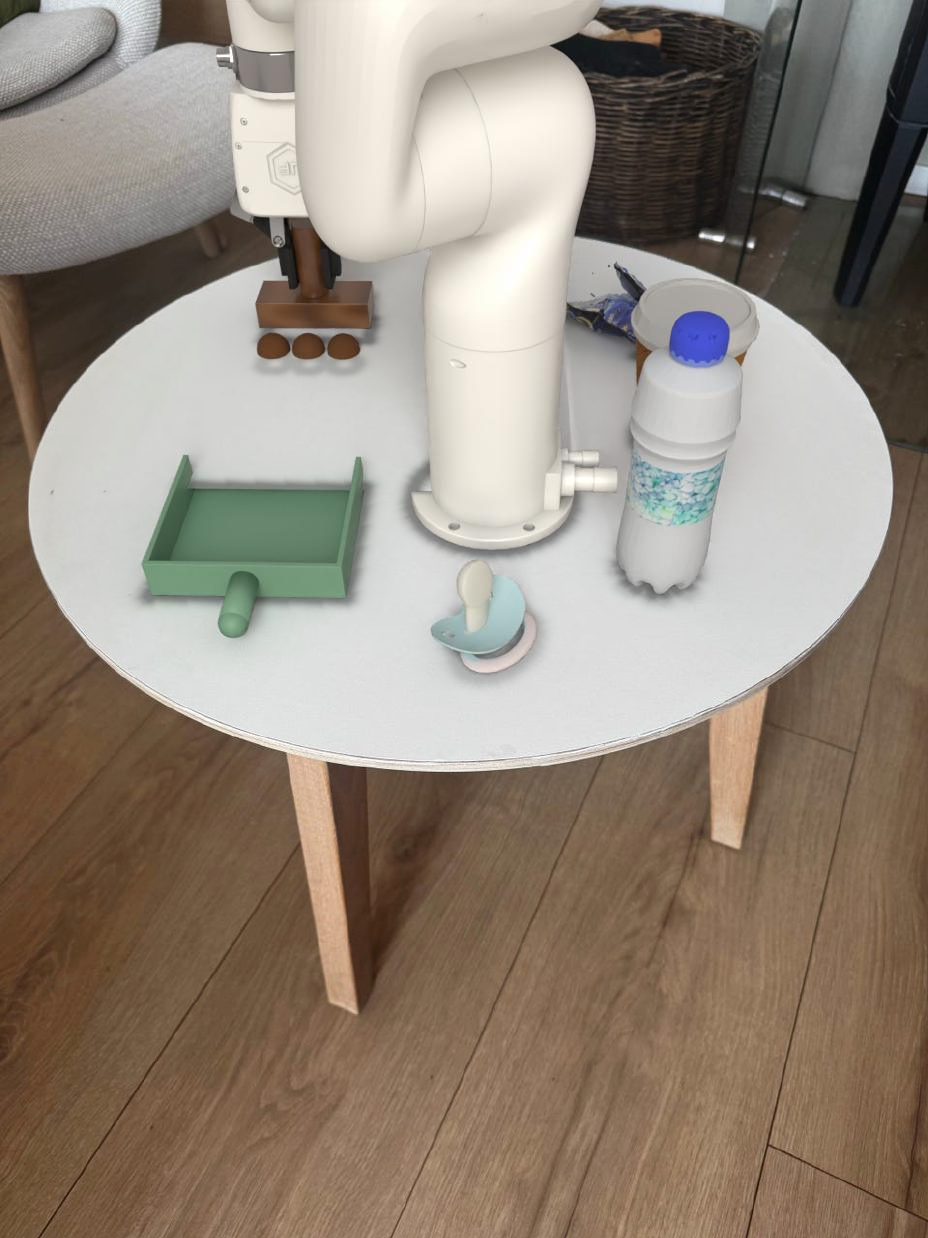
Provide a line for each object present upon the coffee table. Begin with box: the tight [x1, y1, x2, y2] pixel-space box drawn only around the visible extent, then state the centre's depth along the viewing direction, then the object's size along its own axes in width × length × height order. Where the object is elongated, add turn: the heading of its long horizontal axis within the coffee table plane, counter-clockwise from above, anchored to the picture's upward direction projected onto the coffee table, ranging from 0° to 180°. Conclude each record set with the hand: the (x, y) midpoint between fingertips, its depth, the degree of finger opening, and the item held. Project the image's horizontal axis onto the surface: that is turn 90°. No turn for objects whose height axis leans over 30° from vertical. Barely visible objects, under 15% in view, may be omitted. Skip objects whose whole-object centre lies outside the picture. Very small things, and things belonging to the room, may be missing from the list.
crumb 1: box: [256, 332, 291, 360], centre depth 90 cm, size 3×3×3 cm
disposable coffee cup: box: [631, 277, 761, 388], centre depth 78 cm, size 10×10×12 cm
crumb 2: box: [291, 332, 326, 360], centre depth 90 cm, size 3×3×3 cm
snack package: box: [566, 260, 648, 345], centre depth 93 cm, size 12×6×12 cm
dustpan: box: [141, 454, 365, 639], centre depth 71 cm, size 17×14×3 cm
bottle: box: [615, 311, 744, 595], centre depth 64 cm, size 7×7×20 cm
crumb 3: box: [326, 332, 361, 361], centre depth 90 cm, size 3×3×3 cm
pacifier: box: [430, 559, 538, 674], centre depth 64 cm, size 7×6×6 cm
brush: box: [254, 217, 375, 329], centre depth 91 cm, size 10×4×10 cm, turn 88°
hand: (313, 280), depth 91 cm, fingers closed on brush, 2 cm apart
